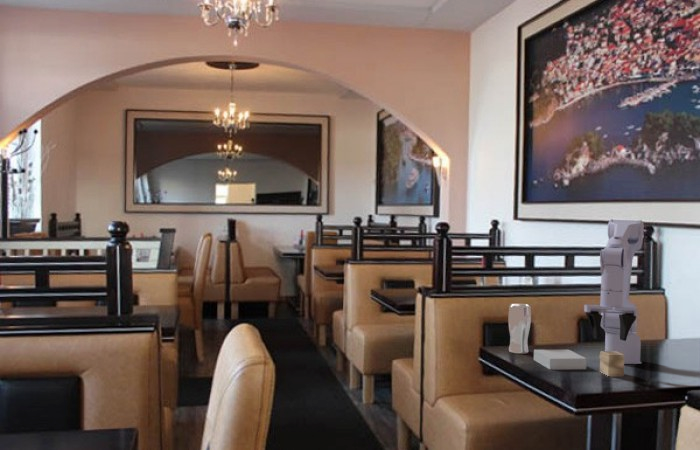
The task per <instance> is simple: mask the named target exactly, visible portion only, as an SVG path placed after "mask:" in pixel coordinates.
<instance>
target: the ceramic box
mask: <svg viewBox="0 0 700 450" xmlns="http://www.w3.org/2000/svg"><path fill="white" fill-rule="evenodd" d="M533 361H535V362H536V363H539V364H540V365H542V366H543V367H544V368H547V369H548V370H587V362H588V360H587V357H584V356H583V355H580V354H578V353H576V352H574V351H572V350H570V349H533Z"/></svg>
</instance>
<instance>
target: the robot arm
mask: <svg viewBox="0 0 700 450" xmlns="http://www.w3.org/2000/svg"><path fill="white" fill-rule="evenodd" d="M644 228H645V227H644V221H643V220H642V219H639V220H634V219H631V220H630V219H613V218H611V219H610V220H609V221H608V223H607V237H608V240H607V244H606V246H605V247H603V248H601V250H600V253H599V266H600V274H601V275H600V276H601V279H600V300H599V304H584V305H583V306H584V307H583V312H584V313H585V315H586V317H587V320H588V322H589V324H590V328H591V331H592V337H593V339H595V340H600V337H601V330H600V329H601V328H602V329H603V330H604V332H605V336H604V337H605V339H604V351H616V352H619V353H621V354H623V355H624V365H628V364H629V365H632V364H633V365H637V364H638V365H639V364H642V361H641V350H642V349H641V347H642V342H641V337H640V335H639V334H638V333H637V332H636V331H637V328H638V316H639V308H638V307H637V306H636V305H635V304H634V303H633V302H632V301H630V300H629V299H630V292H631V291H630V289H631V279H632V269H633V268H632V267H633V260H634V256H635V253H636V252H637V251H639V250H641V249H642V246H643V241H644V230H645V229H644ZM598 358H599V359H600V355H599V356H598Z"/></svg>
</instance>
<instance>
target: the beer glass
mask: <svg viewBox="0 0 700 450" xmlns="http://www.w3.org/2000/svg"><path fill="white" fill-rule="evenodd" d="M531 311H532V310H531V304H528V303H520V302H518V303H516V302H514V303H513V302H512V303H509V307H508V314H507V316H508V317H507V319H508V320H507V321H508V331H509V336H510V337H509V339H510V340H509V346H508V351H509V353H514V354H520V355H521V354H522V355H523V354H524V355H525V354H529V346H528V338H529V334H530V333H529V332H530V328H531V323H532V312H531Z"/></svg>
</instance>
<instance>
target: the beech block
mask: <svg viewBox="0 0 700 450" xmlns="http://www.w3.org/2000/svg"><path fill="white" fill-rule="evenodd" d="M599 356H600V358H599V373H600V372H601V374H602V373H603V374H602V375H604V374H605V375H604V376H606V375H607V376H606V377H608V376H610V377H611V378H612V377H615V378H616V377H624V376H625V375H624V373H625V364H624V355H623V354H621V353H619V352H616V351H605V350H601V351H600V353H599Z"/></svg>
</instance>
